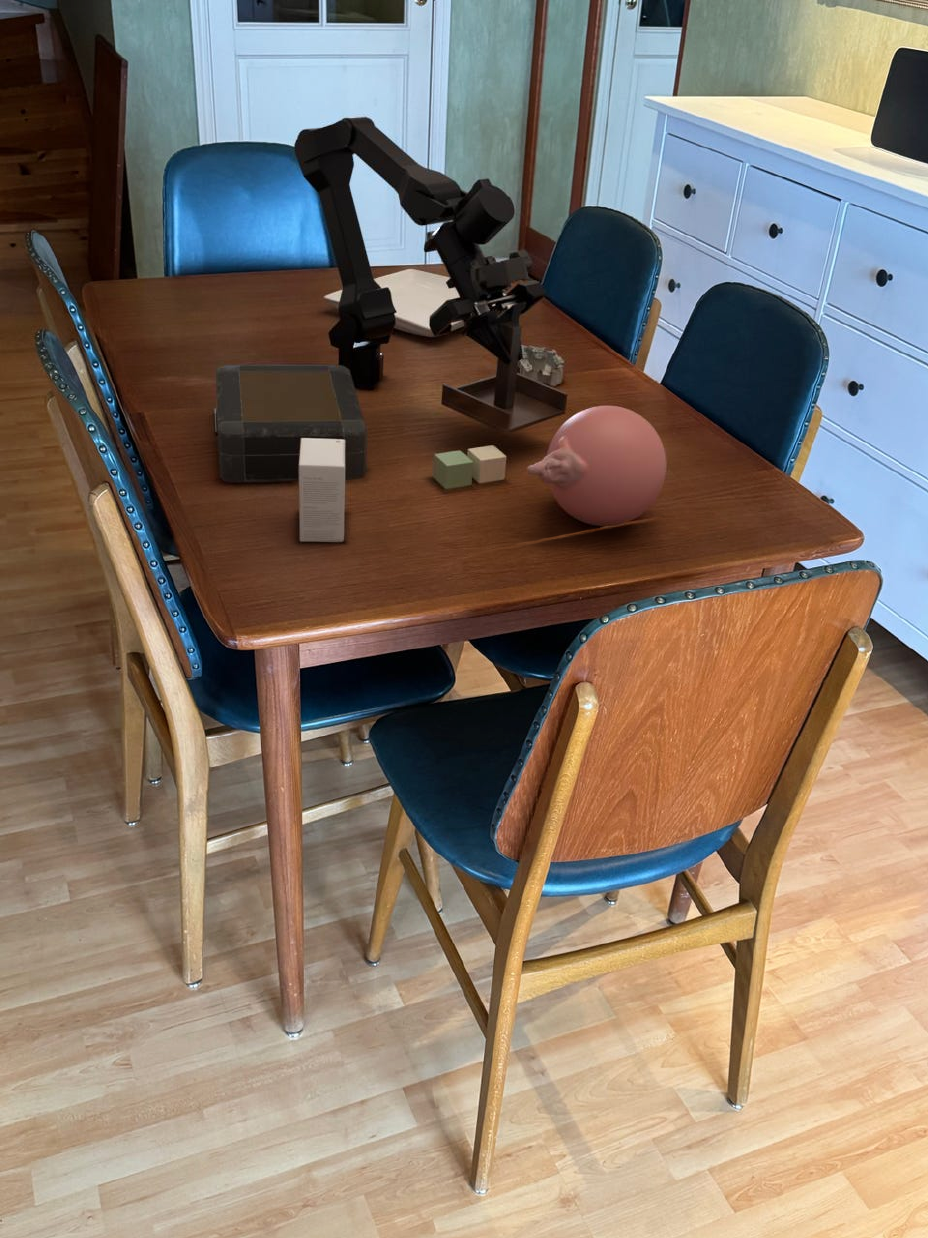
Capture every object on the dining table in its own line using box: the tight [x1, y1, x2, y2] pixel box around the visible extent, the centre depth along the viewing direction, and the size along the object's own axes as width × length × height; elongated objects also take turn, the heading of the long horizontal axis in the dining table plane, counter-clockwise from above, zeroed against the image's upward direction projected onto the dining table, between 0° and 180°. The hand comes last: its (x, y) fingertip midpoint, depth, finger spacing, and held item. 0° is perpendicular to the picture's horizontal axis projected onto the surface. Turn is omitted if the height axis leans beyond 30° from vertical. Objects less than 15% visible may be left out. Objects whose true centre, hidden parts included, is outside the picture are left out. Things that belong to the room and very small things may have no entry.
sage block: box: [432, 450, 473, 490], centre depth 151 cm, size 4×4×4 cm
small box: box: [298, 438, 346, 543], centre depth 137 cm, size 8×6×10 cm
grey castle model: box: [518, 344, 565, 387], centre depth 189 cm, size 11×8×4 cm
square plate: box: [323, 268, 507, 338], centre depth 213 cm, size 27×27×4 cm
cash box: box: [212, 364, 368, 484], centre depth 157 cm, size 25×20×8 cm
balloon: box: [526, 405, 667, 527], centre depth 142 cm, size 15×20×15 cm
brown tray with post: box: [440, 322, 569, 435], centre depth 157 cm, size 13×13×12 cm
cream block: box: [466, 444, 507, 484], centre depth 154 cm, size 4×4×4 cm
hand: (514, 361), depth 156 cm, fingers closed on brown tray with post
